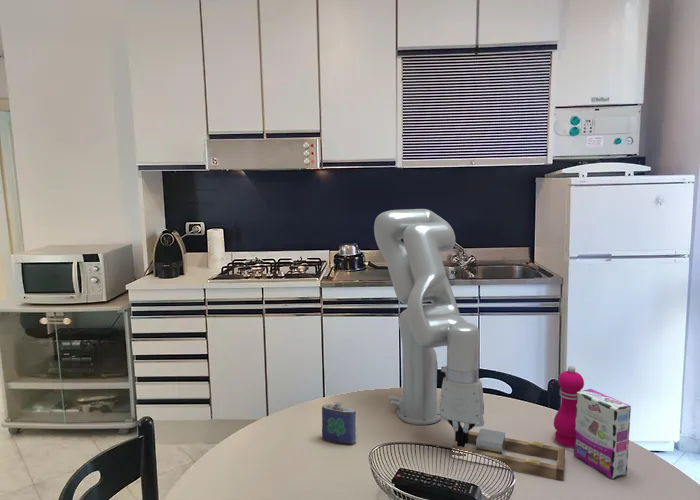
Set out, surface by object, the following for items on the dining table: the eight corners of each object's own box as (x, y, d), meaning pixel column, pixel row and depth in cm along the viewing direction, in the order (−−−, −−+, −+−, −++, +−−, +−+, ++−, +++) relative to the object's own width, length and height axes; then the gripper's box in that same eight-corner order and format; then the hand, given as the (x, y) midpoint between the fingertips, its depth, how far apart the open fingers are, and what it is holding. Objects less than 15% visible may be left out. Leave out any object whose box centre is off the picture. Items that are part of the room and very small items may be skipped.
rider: (475, 459, 126) (476, 439, 125) (480, 447, 131) (480, 428, 130) (501, 464, 123) (502, 444, 123) (505, 451, 129) (505, 432, 128)
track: (451, 457, 126) (451, 446, 126) (460, 438, 135) (460, 427, 135) (563, 480, 116) (563, 468, 116) (564, 458, 125) (565, 446, 125)
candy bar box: (628, 474, 118) (632, 405, 116) (612, 480, 116) (616, 410, 114) (588, 451, 128) (591, 387, 126) (572, 456, 126) (575, 391, 124)
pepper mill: (586, 449, 129) (590, 371, 126) (555, 447, 130) (558, 370, 127) (580, 435, 136) (583, 361, 133) (550, 433, 137) (553, 360, 134)
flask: (357, 441, 134) (356, 401, 133) (353, 447, 132) (352, 406, 130) (324, 435, 138) (323, 396, 136) (319, 440, 135) (318, 401, 134)
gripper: (428, 375, 127) (428, 446, 129) (491, 383, 121) (489, 458, 123) (436, 364, 134) (436, 432, 136) (496, 372, 128) (494, 443, 130)
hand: (461, 444), depth 130 cm, fingers closed
